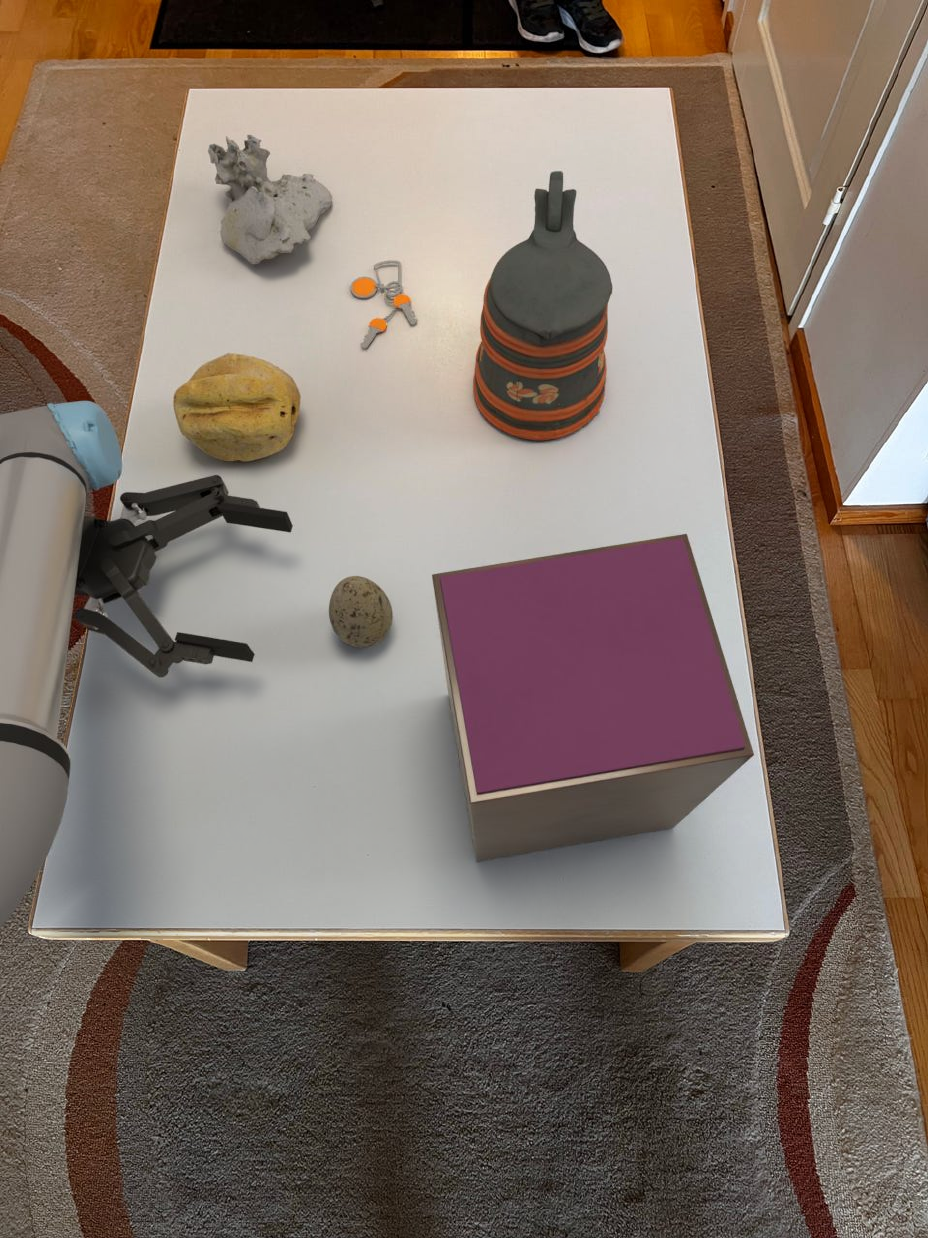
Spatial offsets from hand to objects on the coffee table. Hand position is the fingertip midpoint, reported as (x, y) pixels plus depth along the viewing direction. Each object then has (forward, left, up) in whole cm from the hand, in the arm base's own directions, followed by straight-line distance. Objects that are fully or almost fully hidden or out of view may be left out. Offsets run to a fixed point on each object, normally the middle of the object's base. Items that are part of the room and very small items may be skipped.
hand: (270, 585), depth 81 cm
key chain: (+15, +38, -7) cm, 42 cm away
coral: (+3, +53, -7) cm, 54 cm away
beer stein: (+31, +25, -7) cm, 40 cm away
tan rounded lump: (-2, +23, -7) cm, 24 cm away
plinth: (+24, -19, -7) cm, 31 cm away
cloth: (+24, -19, +19) cm, 36 cm away
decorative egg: (+8, -3, -7) cm, 11 cm away
